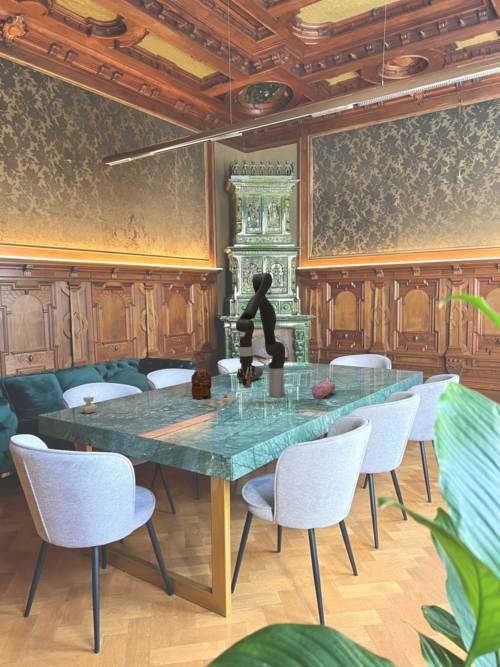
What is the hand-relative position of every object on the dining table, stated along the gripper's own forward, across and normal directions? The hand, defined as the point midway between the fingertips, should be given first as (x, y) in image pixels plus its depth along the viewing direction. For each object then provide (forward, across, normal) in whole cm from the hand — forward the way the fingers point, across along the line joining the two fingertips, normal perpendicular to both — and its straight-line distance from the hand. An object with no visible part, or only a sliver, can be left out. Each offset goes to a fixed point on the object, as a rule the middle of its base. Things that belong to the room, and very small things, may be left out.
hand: (247, 384), depth 257 cm
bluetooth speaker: (+12, +59, +42) cm, 73 cm away
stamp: (+9, -63, +60) cm, 87 cm away
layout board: (+10, -11, +14) cm, 21 cm away
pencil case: (+12, +40, -27) cm, 50 cm away
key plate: (+11, +2, +14) cm, 18 cm away
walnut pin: (+2, 0, 0) cm, 2 cm away
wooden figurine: (+11, -4, +32) cm, 34 cm away
